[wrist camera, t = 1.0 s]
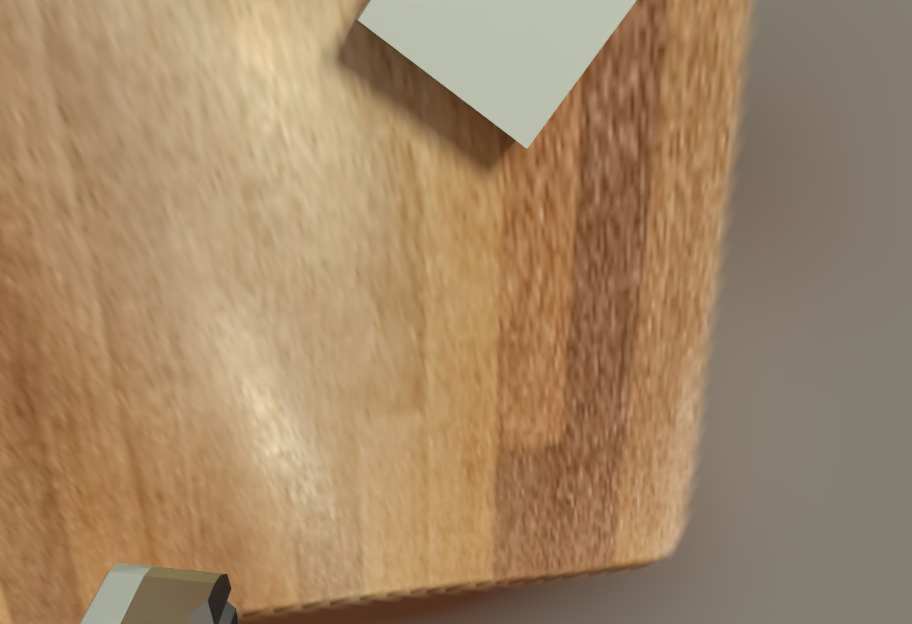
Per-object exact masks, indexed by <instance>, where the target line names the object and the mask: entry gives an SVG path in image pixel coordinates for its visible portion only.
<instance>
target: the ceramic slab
mask: <svg viewBox="0 0 912 624" xmlns="http://www.w3.org/2000/svg"><path fill="white" fill-rule="evenodd" d="M635 2H636V0H367V2H366V3H365V5H364V6H363V8H362V10H361V11H360V13H359V14H358V16H357V17H356V20H358V21H359V22H360V23H362V24H363V25H364V26H365V27H367V28H368V29H369V30H371V31H372V32H373V33H375V34H376V35H377V36H379V37H380V38H381V39H383V40H384V41H385V42H387V43H388V44H389V45H391V46H392V47H393V48H394V49H396V50H397V51H398V52H400V53H401V54H402V55H404V56H405V57H406V58H408V59H409V60H410V61H412V62H413V63H414V64H416V65H417V66H418V67H420V68H421V69H422V70H423V71H425V72H426V73H427V74H429V75H430V76H431V77H433V78H434V79H435V80H437V81H438V82H439V83H441V84H442V85H443V86H445V87H446V88H447V89H449V90H450V91H451V92H452V93H454V94H455V95H456V96H458V97H459V98H460V99H462V100H463V101H464V102H466V103H467V104H468V105H470V106H471V107H472V108H474V109H475V110H476V111H478V112H479V113H480V114H481V115H483V116H484V117H485V118H487V119H488V120H489V121H491V122H492V123H493V124H495V125H496V126H497V127H499V128H500V129H501V130H503V131H504V132H505V133H507V134H508V135H509V136H510V137H512V138H513V139H514V140H516V141H517V142H518V143H520V144H521V145H523V146H524V147H525V148H528V147H529V145H530V144H531V143H532V141H533V140H534V139H535V137H536V136H537V134H538V133H539V132H540V130H541V129H542V128H543V126H544V125H545V124H546V122H547V121H548V120H549V118H550V117H551V116H552V114H553V113H554V111H555V110H556V109H557V107H558V106H559V105H560V103H561V102H562V101H563V99H564V98H565V97H566V95H567V94H568V92H569V91H570V90H571V88H572V87H573V86H574V84H575V83H576V82H577V80H578V79H579V78H580V76H581V75H582V74H583V72H584V71H585V69H586V68H587V67H588V65H589V64H590V63H591V61H592V60H593V59H594V57H595V56H596V55H597V53H598V52H599V50H600V49H601V48H602V46H603V45H604V44H605V42H606V41H607V40H608V38H609V37H610V36H611V34H612V33H613V32H614V30H615V29H616V27H617V26H618V25H619V23H620V22H621V21H622V19H623V18H624V17H625V15H626V14H627V13H628V11H629V10H630V8H631V7H632V6H633V4H634V3H635Z"/></svg>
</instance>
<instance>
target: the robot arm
mask: <svg viewBox="0 0 912 624" xmlns="http://www.w3.org/2000/svg"><path fill="white" fill-rule="evenodd" d="M230 591H231V585H230V582H229V578H228V575H227V574H223V573H213V572H203V571H194V570H184V569H174V568H164V567H156V566H149V565H137V564H126V563H117V564H116V565H115V566H114V567H113V568H112V569H111V570H110V571H109V572H108V573H107V575H106V576H105V578H104V580H103V582H102V584H101V586H100V587H99V589H98V591H97V593H96V595H95V596H94V598H93V600H92V602H91V604H90V605H89V607H88V609H87V611H86V613H85V615H84V616H83V618H82V620H81V622H80V624H238V616H237V611H236V608H235V607H234V606H232V605H231V604H230V603H229V602H228V601H227V599H228V597H229V594H230Z"/></svg>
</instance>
